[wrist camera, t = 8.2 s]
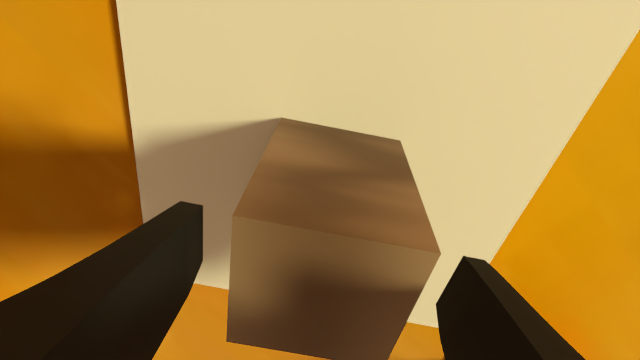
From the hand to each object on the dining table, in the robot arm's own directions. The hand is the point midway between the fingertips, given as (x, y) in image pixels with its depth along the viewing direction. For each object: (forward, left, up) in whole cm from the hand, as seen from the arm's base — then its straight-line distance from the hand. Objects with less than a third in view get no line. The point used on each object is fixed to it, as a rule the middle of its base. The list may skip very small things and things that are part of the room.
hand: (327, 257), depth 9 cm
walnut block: (0, 0, -5) cm, 5 cm away
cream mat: (0, 0, -5) cm, 5 cm away
